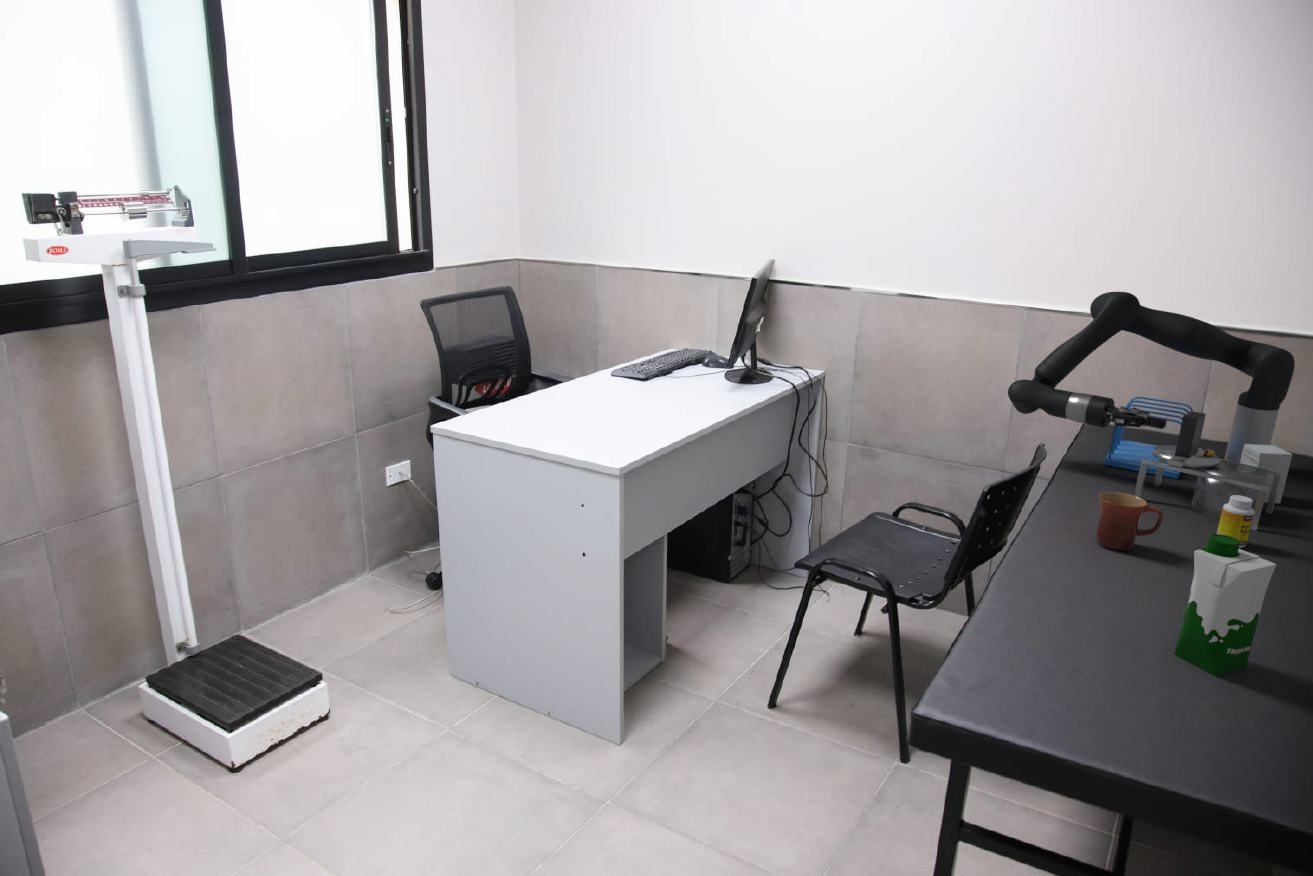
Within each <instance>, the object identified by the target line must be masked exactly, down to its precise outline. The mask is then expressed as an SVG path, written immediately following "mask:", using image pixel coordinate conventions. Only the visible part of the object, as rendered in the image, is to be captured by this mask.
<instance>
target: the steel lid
mask: <svg viewBox="0 0 1313 876" xmlns="http://www.w3.org/2000/svg"><path fill="white" fill-rule="evenodd" d="M1189 412H1190V413H1185V414H1186V415H1183V416H1182V417H1183V419H1182V420H1181V423H1182V424H1181V425H1180V430H1179V434H1178V437H1177V443H1176V445H1174V444H1173V445H1172V444H1164V445H1156V447H1154V449H1153V453H1152V454H1153V456H1154V457H1156V458H1158V459H1160V460H1162V461H1165V462H1168V464H1169V465H1174V466H1178V467H1182V468H1184V467H1187V468H1199V469H1200V468H1213V467H1217V466H1218V465H1219V461H1220V459H1221V458H1220V457H1219V456H1218V455H1216V454H1215V452H1216V451H1215V450H1213V449H1209V448H1208V449H1207V448H1205V449H1204V450H1203V448H1201V447H1200V443H1201V438H1202V434H1203V430H1204V429H1203V428H1204V426H1205V425H1204V423H1205V421H1206V417H1207V416H1206V415H1207V413H1203V412H1198V411H1194V410H1193V411H1191V410H1190V411H1189Z"/></svg>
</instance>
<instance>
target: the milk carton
mask: <svg viewBox="0 0 1313 876" xmlns="http://www.w3.org/2000/svg"><path fill="white" fill-rule="evenodd" d="M1239 545H1240V542H1239V540H1237V539H1235V538H1233V537H1230V536H1226V535H1220V534H1217V533H1216V534H1215V533H1214V534H1210V535H1209V538H1208V541H1207V544H1206V546H1204V547H1202V548H1199V549H1196V550H1194V551H1193V552H1194V558H1193V559H1194V561H1193V562H1194V565H1193V566H1194V569H1193V571H1194V572H1193V578H1192V582H1191V587H1190V591H1189V595H1188V600H1187V605H1186V607H1185V613H1184V617H1183V621H1182V623H1181V627H1180V631H1179V636H1178V638H1177V641H1176V646H1175V649H1174V653H1173V655H1175V656H1178V657H1179V658H1180V659H1183V660H1185V661H1186V662H1189V663H1190V664H1192V665H1194V666H1196V667H1197V668H1200V669H1201V670H1203V671H1205V672H1207V673H1208V674H1210V675H1212V676H1214V677H1220V676H1224V675H1226V674H1230V673H1234V672H1237V671H1240V670H1244V669H1247V665H1248V661H1249V657H1250V653H1251V649H1252V646H1253V642H1254V637H1255V634H1256V629H1257V628H1258V627H1257V626H1258V623H1259V619H1260V615H1261V610H1262V608H1263V607H1262V606H1263V603H1264V600H1265V596H1266V593H1267V590H1268V586H1269V585H1270V582H1271V578H1272V576H1273V574H1274V571H1275V569H1276V567H1277V563H1274V562H1272V561H1270V560H1267V559H1264V558H1261V556H1259V555H1257V554H1256V553H1255V554H1254V553H1251V552H1248V551H1246V550H1242V549H1241V548H1239Z"/></svg>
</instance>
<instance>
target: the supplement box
mask: <svg viewBox="0 0 1313 876" xmlns="http://www.w3.org/2000/svg"><path fill="white" fill-rule="evenodd" d="M1292 457H1293V453H1291V452H1288V451H1286V450H1285V449H1282V448H1281V447H1278V446H1276V445H1272V444H1270V445H1253V444H1244V448H1243V452H1242V457H1241V461H1240V463H1243V464H1247V465H1252V466H1257V467H1262V468H1266V469H1271V470H1276V471H1280V472H1282V477H1281V481H1280V484H1279V488H1278V492H1277V496H1276V500H1275V504H1281V502H1282V497H1283V493H1284V489H1285V486H1286V481H1287V478H1288V473H1289V470H1290V466H1291V461H1292ZM1265 474H1266V475H1267V481H1266V485H1265V486H1266V487H1267V492H1266V496H1265V500H1264V504H1267V503H1268V499H1269V495H1270V491H1271V487H1272V483H1273V479H1274V475H1273V474H1268V473H1265Z"/></svg>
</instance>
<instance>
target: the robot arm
mask: <svg viewBox="0 0 1313 876" xmlns="http://www.w3.org/2000/svg"><path fill="white" fill-rule="evenodd" d="M1089 307H1090V308H1089V310H1090V311H1089V312H1090V315H1091V318H1092V319H1093V320H1092V321H1091V322H1090V323H1089V324H1088V325H1086V326H1085V327H1084V328H1083V329H1081V331H1079V332H1077V334H1075V335H1074V336H1072V337H1070V338H1068V339H1067V340H1066V341H1064V342H1063V343H1061V344H1060V345H1059V346H1057V347H1056V348H1055V349H1054V350H1052V351H1051V352H1050V353H1049V354H1048V355H1047V356H1046V357H1045V358H1044V359H1043V360H1041V362H1040V363H1039V364H1038V365H1036V367H1035V368H1034V376H1033V378H1032V380H1031V379H1019V380H1015V381H1013V382H1012V383H1011V384H1010V385H1009V387H1008V388H1007V397H1008V399H1009V401H1010V402H1011V403H1012V405H1013V407H1014V408H1015V410H1016V411H1017V412H1019V413H1021V414H1023V415H1029V414H1033V413H1034V412H1035V413H1036V411H1038V410H1043V411H1044V412H1045V413H1046V414H1047V415H1049V416H1051V417H1055V418H1061V419H1065V420H1070V421H1072V422H1075V423H1079V424H1084V425H1087V426H1088V425H1089V426H1092V427H1093V426H1094V427H1099V428H1107V427H1108V426H1109V425H1110V423H1111V422H1112V423H1113V424H1114V426H1123V427H1124V426H1126V427H1131V428H1142V427H1151V428H1154V429H1155V428H1156V429H1160V430H1163V429H1165V428H1166V427H1167V420H1166V419H1162V418H1163V417H1162V418H1157V417H1158V416H1157V417H1152V416H1153V415H1151V416H1150V414H1151V413H1147V412H1145V411H1142V410H1143V409H1142V410H1140V408H1136V406H1132V407H1131V408H1132V409H1129V408H1128V407H1126V406H1120V407H1116V406H1115V400H1114V398H1112V397H1108V396H1102V395H1095V394H1092V393H1091V394H1090V393H1085V392H1074V391H1069V390H1063V389H1057V388H1056V387H1057V386H1058V384H1060V383H1061V382H1062V381H1063V380H1064V379H1065V378H1066V377H1067V376H1069V375H1070V373H1071V372H1072V371H1073V370H1075V368H1076V367H1078V366H1079V365H1080V364H1081V363H1082V362H1083V361H1084V360H1085V359H1086V358H1087V357H1089V356H1090V355H1091V354H1092V353H1093V352H1094V351H1096V350H1097V349H1098V348H1100V347H1101V346H1102V345H1103V344H1105V343H1106V342H1107V341H1108V340H1110V339H1111V338H1113V337H1114V336H1116V335H1118V333H1120V332H1122V331H1124V332H1128V333H1130V334H1135V335H1138V336H1139V337H1142V338H1145V339H1147V340H1149V341H1151V342H1153V343H1156V344H1158V345H1160V346H1162V347H1165V348H1168V349H1170V350H1173V351H1175V352H1179V353H1180V354H1181V353H1182V354H1184V355H1186V356H1190V357H1194V358H1198V359H1201V360H1208V361H1213V362H1214V361H1215V362H1218V363H1221V364H1224V365H1226V366H1229V367H1230V368H1234V369H1235V370H1238V371H1240V372H1242V373H1244V374H1245V375H1246V376H1249V377H1251V378H1252V380H1251V384H1250V387H1249V388H1248V390H1247V391H1243V392H1241V393H1240V394H1239V396H1238V400H1237V403H1236V408H1235V412H1234V417H1233V420H1232V426H1231V430H1230V434H1229V437H1228V442H1227V446H1226V449H1225V450H1226V451H1225V455H1224V460H1229V461H1233V462H1238V463H1240V461H1241V457H1242V452H1243V448H1244V444H1253V445H1272V444H1271V443H1272V439H1273V435H1274V431H1275V428H1276V423H1277V419H1278V415H1279V412H1280V407H1281V405H1282V403H1283V401H1284V400H1285V399H1286V397H1287V396H1288V393H1289V389H1290V386H1291V382H1292V380H1293V375H1294V372H1295V371H1294V370H1295V366H1296V363H1295V357H1294V356H1293V354H1292V353H1291V352H1290V351H1289V350H1287V349H1286V348H1285V349H1284V348H1282V347H1278V346H1275V345H1272V344H1268V343H1264V342H1263V343H1262V342H1258V341H1254V340H1253V341H1252V340H1249V339H1244V338H1241V337H1238V336H1234V335H1232V334H1231V333H1228V332H1226V331H1225V330H1223V329H1221V328H1219V327H1218V326H1216V325H1213V324H1211V323H1209V322H1206V321H1203V320H1202V319H1201V320H1200V319H1198V318H1195V317H1192V316H1188V315H1185V314H1181V313H1180V314H1179V313H1176V312H1172V311H1171V312H1170V311H1166V310H1159V309H1153V308H1150V307H1146V306H1143V305H1142V304H1141V303H1140V301H1139V298H1138V297H1137V296H1135V294H1133V293H1131V292H1127V291H1109V292H1105V293H1102V294H1100V295H1098V296H1096V297H1095V298H1094V299H1093V300H1092V302H1091V303H1090V306H1089Z"/></svg>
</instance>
